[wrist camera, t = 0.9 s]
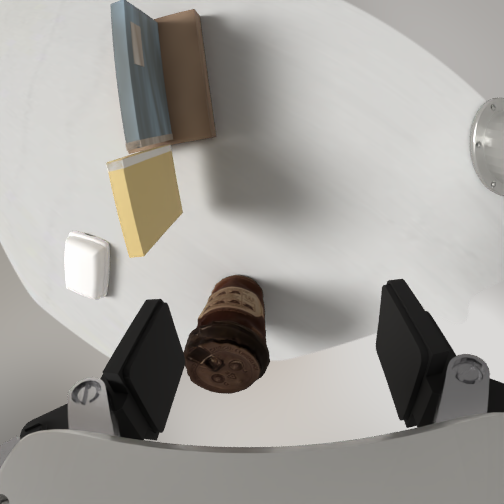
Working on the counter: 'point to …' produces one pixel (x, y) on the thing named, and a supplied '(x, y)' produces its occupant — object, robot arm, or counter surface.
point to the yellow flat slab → (145, 196)
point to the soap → (87, 265)
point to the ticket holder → (161, 77)
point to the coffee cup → (229, 338)
